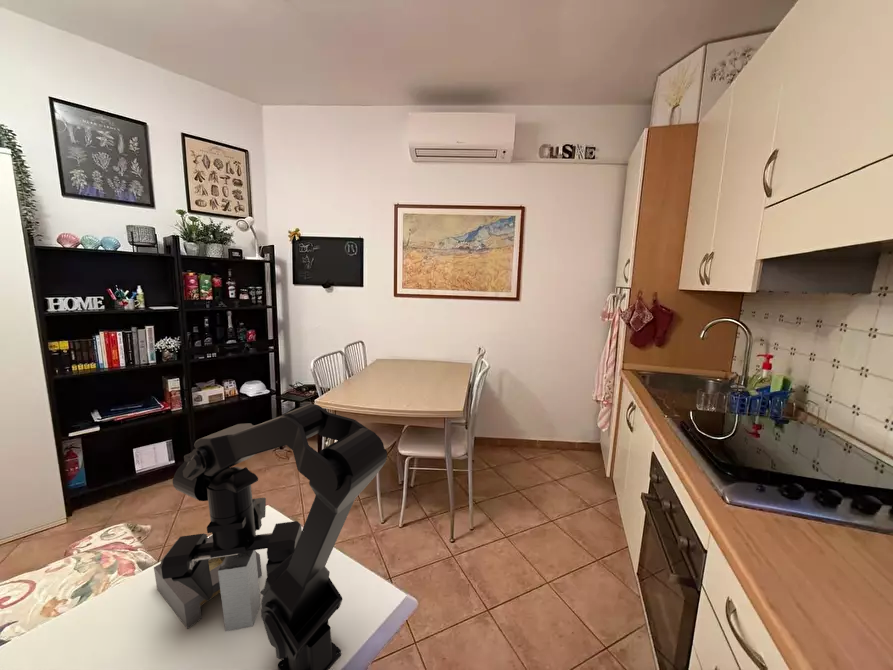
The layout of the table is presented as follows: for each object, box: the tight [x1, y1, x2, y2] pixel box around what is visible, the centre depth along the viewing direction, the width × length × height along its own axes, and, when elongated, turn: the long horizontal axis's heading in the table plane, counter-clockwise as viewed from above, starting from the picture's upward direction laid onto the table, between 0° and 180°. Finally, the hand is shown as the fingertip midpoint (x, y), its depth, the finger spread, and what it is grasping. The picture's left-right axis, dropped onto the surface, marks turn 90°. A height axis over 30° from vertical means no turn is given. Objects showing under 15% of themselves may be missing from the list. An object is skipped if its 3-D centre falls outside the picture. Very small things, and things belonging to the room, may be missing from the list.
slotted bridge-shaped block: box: [153, 534, 263, 629], centre depth 63 cm, size 13×12×4 cm
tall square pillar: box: [218, 550, 262, 632], centre depth 56 cm, size 4×4×11 cm
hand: (241, 593), depth 56 cm, fingers open, 9 cm apart
